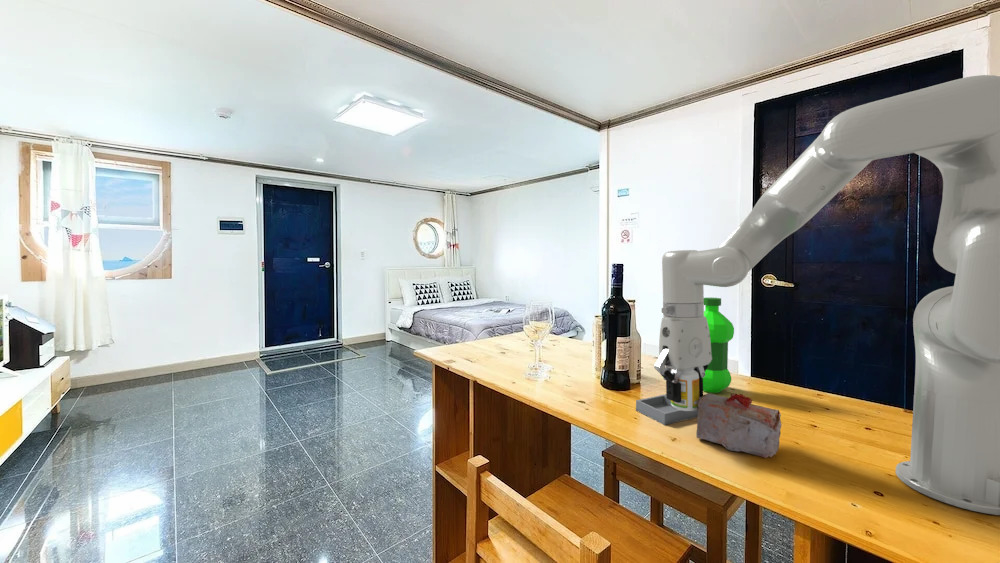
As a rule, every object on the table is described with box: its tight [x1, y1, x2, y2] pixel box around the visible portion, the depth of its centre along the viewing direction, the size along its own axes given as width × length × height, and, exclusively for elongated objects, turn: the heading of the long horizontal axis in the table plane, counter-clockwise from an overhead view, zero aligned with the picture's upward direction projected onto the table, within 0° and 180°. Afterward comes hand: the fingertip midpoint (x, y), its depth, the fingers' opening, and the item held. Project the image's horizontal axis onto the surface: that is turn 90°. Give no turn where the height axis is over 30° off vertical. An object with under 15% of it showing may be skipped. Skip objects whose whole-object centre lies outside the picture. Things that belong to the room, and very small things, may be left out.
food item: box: [695, 392, 782, 459], centre depth 74 cm, size 14×8×10 cm, turn 50°
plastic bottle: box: [703, 297, 735, 394], centre depth 104 cm, size 10×10×25 cm
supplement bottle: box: [671, 368, 699, 411], centre depth 79 cm, size 5×5×10 cm
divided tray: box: [635, 393, 701, 426], centre depth 91 cm, size 9×17×2 cm, turn 113°
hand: (684, 397), depth 80 cm, fingers closed on supplement bottle, 5 cm apart
